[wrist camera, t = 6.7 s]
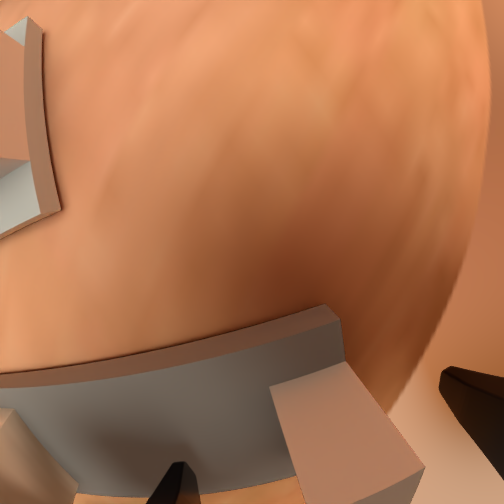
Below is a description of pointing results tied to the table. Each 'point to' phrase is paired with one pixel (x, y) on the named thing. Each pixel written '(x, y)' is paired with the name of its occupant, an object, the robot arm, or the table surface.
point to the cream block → (29, 467)
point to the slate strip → (23, 131)
